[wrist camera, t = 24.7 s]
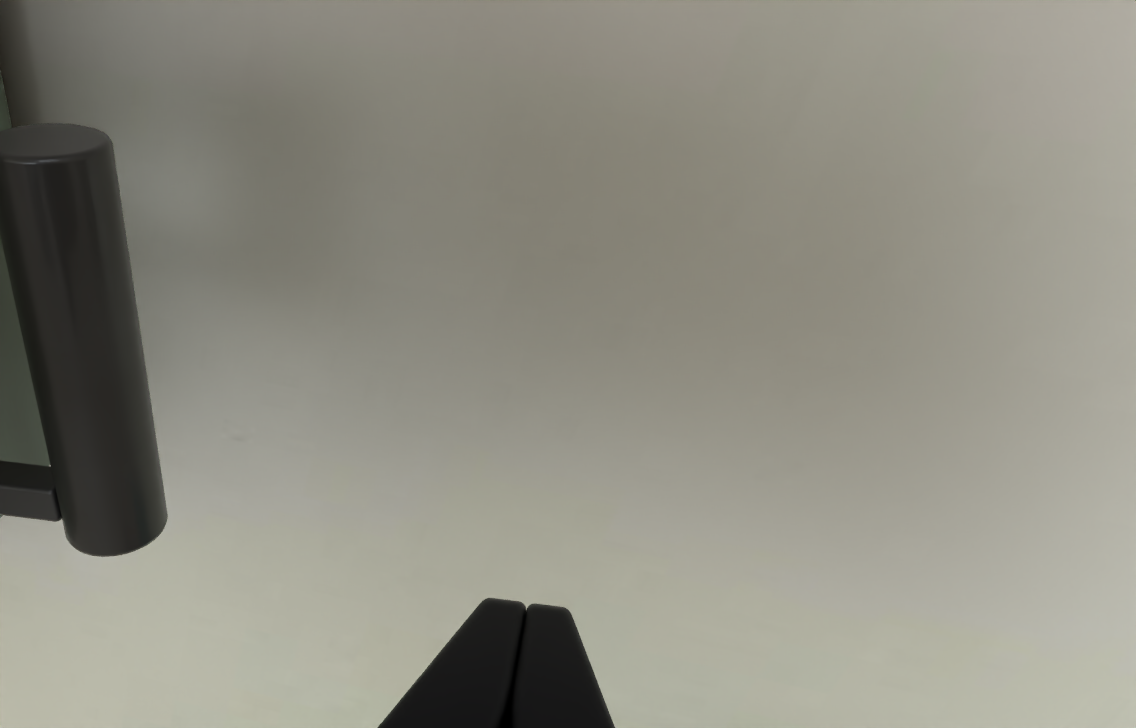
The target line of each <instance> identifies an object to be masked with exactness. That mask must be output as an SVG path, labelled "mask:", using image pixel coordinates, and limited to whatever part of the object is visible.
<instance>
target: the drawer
mask: <svg viewBox="0 0 1136 728" xmlns="http://www.w3.org/2000/svg"><path fill="white" fill-rule="evenodd" d="M49 465H51V467H50V466H49ZM3 515H7V516H15V517H23V518H31V519H39V520H47V521H59V520H61V519H62V520H63V525H64V529H65V534H66V538H67V540H68V541H69V543H70V544H71V545H72V546H73V547H74V548H75V549H77V550H78V551H80V552H82V553H85V554H88V555H92V556H101V557H105V556H117V555H122V554H126V553H130V552H133V551H136V550H138V549H140V548H142V547H144V546H146V545H148V544H149V543H151V542H152V541H153V540H155V539H156V538H157V537H158V536H159V535H160V534H161V532H162V531H163V529H164V527H165V525H166V522H167V517H168V516H167V508H166V501H165V494H164V487H163V481H162V474H161V467H160V460H159V454H158V447H157V440H156V433H155V427H154V420H153V413H152V406H151V399H150V393H149V386H148V379H147V372H146V366H145V359H144V352H143V345H142V339H141V332H140V325H139V318H138V311H137V305H136V298H135V291H134V284H133V278H132V271H131V264H130V257H129V251H128V244H127V237H126V230H125V223H124V217H123V210H122V203H121V196H120V190H119V183H118V176H117V169H116V163H115V156H114V149H113V143H112V141H111V139H110V138H109V136H108V135H107V134H106V133H104V132H102V131H100V130H98V129H95V128H91V127H86V126H81V125H74V124H60V123H47V124H32V125H25V126H19V127H14V128H12V124H11V119H10V114H9V109H8V104H7V99H6V94H5V89H4V84H3V79H2V74H1V69H0V518H1V517H2V516H3Z"/></svg>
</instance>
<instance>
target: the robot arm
mask: <svg viewBox="0 0 1136 728" xmlns="http://www.w3.org/2000/svg"><path fill="white" fill-rule="evenodd" d="M378 728H615V727H614V724H613V722H612V719H611V716H610V714H609V711H608V709H607V706H606V703H605V701H604V698H603V695H602V693H601V690H600V688H599V685H598V682H597V680H596V677H595V675H594V672H593V669H592V667H591V664H590V661H589V659H588V656H587V654H586V651H585V648H584V646H583V643H582V640H581V638H580V635H579V633H578V630H577V627H576V625H575V622H574V620H573V617H572V615H571V613H570V611H569V610H568V609H566V608H564V607H558V606H550V605H542V604H531V605H529V606H528V608H527V610H526V607H525V605H524V604H523V603H522V602H519V601H511V600H503V599H495V598H488V599H485V600H483V601H482V602H481V603H480V604H479V605H478V607H477V608H476V609H475V610H474V612H473V613H472V614H471V615H470V616H469V618H468V619H467V620H466V621H465V622H464V624H463V625H462V626H461V627H460V628H459V630H458V631H457V632H456V633H455V635H454V636H453V637H452V638H451V639H450V641H449V642H448V643H447V644H446V645H445V647H444V648H443V649H442V650H441V652H440V653H439V654H438V655H437V656H436V658H435V659H434V660H433V661H432V662H431V664H430V665H429V666H428V667H427V669H426V670H425V671H424V672H423V673H422V675H421V676H420V677H419V678H418V679H417V681H416V682H415V683H414V684H413V685H412V687H411V688H410V689H409V690H408V692H407V693H406V694H405V695H404V696H403V698H402V699H401V700H400V701H399V702H398V704H397V705H396V706H395V707H394V709H393V710H392V711H391V712H390V713H389V715H388V716H387V717H386V718H385V719H384V721H383V722H382V723H381V724H380V725H379V727H378Z"/></svg>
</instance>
